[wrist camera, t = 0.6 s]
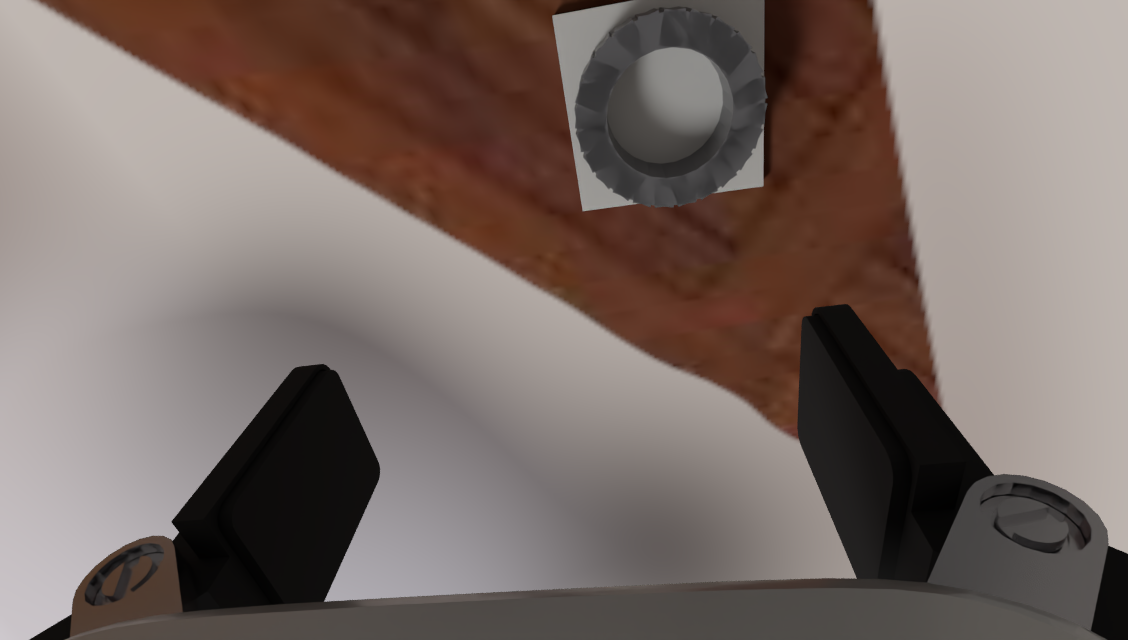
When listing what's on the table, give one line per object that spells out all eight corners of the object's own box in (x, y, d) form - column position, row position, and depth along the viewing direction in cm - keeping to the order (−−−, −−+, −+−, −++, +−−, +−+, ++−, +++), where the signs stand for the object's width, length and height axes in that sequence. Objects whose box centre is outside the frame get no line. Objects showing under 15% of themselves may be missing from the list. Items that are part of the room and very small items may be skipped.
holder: (553, 15, 31) (547, 18, 28) (760, -24, 30) (780, -26, 26) (583, 207, 37) (580, 228, 33) (760, 182, 35) (776, 202, 32)
